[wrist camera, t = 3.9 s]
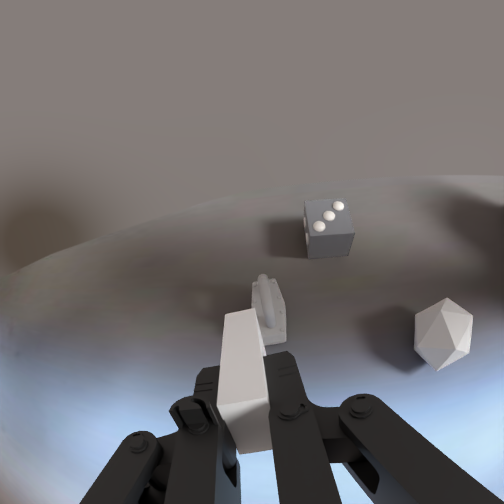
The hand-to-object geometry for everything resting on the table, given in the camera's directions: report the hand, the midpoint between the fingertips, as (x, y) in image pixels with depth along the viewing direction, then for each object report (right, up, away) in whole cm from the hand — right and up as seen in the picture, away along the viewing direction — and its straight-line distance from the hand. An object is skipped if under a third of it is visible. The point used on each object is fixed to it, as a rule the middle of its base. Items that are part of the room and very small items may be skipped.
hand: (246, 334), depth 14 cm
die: (+25, -8, +18) cm, 31 cm away
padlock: (+3, -5, +23) cm, 24 cm away
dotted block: (+11, +6, +28) cm, 31 cm away
